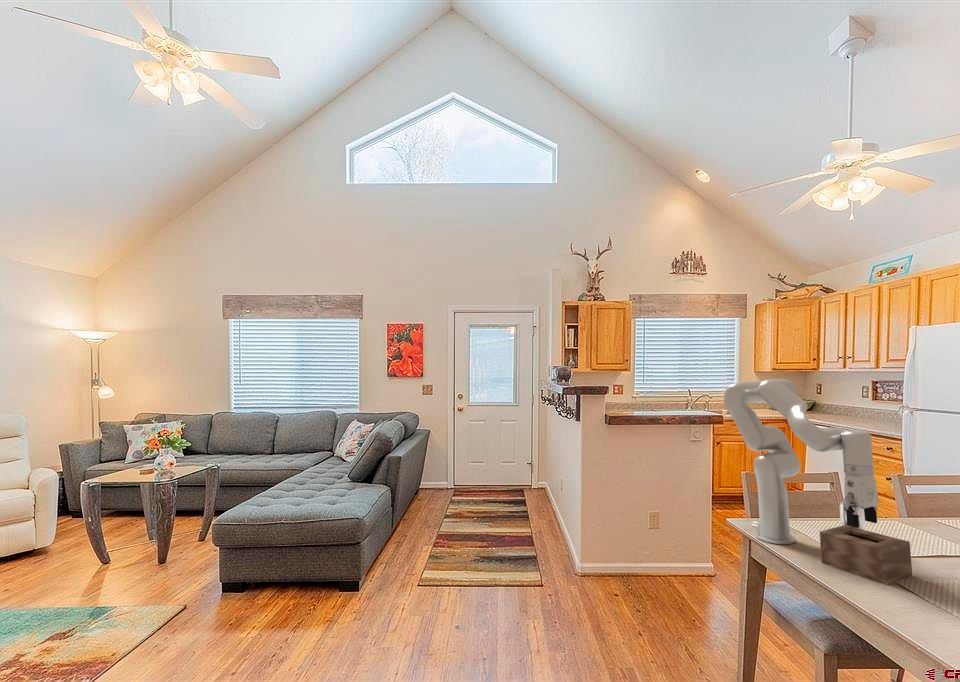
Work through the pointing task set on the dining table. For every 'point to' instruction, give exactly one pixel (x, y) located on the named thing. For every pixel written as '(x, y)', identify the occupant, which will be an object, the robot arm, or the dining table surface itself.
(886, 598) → the dining table surface
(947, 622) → the dining table surface
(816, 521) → the dining table surface
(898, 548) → the coin box
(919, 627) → the dining table surface
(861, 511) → the beer glass
